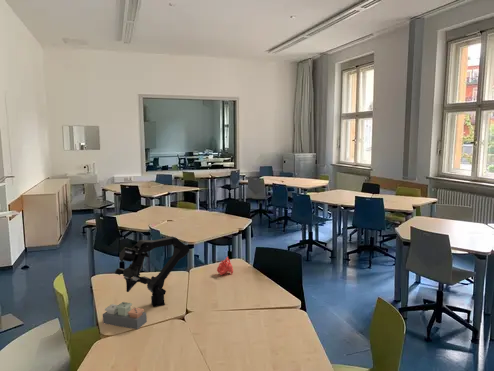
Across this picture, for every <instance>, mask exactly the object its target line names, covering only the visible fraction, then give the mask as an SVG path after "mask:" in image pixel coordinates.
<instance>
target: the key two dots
mask: <svg viewBox="0 0 494 371" xmlns="http://www.w3.org/2000/svg"><path fill="white" fill-rule="evenodd" d="M117 305H118V306H116V309H118V315H120V316H127V315H128V312H129V311H130V310H132V308H131V307H132V305H133V303H131V302H125V301H122V302H121V303H119V304H117Z"/></svg>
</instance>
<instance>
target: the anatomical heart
mask: <svg viewBox="0 0 494 371" xmlns="http://www.w3.org/2000/svg"><path fill="white" fill-rule="evenodd" d="M216 271H217V273H218V274H220V275H221V276H223V275H225V274H226V273H228V272H229V273H230V274H232V275H233V273H234V268H233V264H232V263H231V259H230V258H229V256H226V257H225V259H224V260H220V262H219V264H218V266H217V268H216Z"/></svg>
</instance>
